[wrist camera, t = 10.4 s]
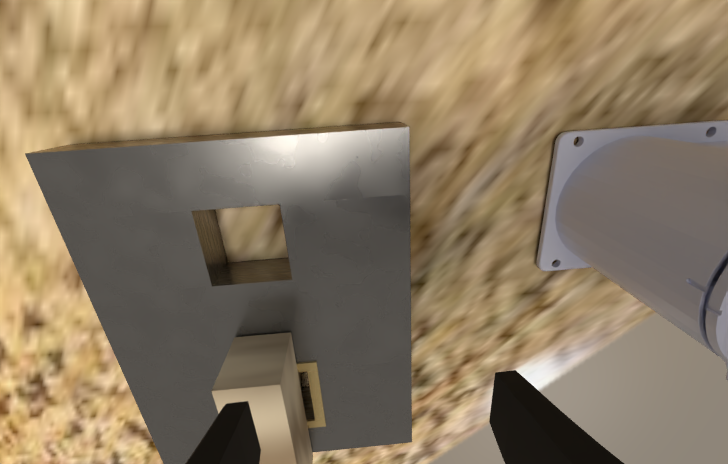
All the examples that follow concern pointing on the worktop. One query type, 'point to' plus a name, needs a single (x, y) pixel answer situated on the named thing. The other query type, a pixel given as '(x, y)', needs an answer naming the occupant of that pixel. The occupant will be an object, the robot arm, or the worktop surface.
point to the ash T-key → (268, 395)
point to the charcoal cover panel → (247, 270)
